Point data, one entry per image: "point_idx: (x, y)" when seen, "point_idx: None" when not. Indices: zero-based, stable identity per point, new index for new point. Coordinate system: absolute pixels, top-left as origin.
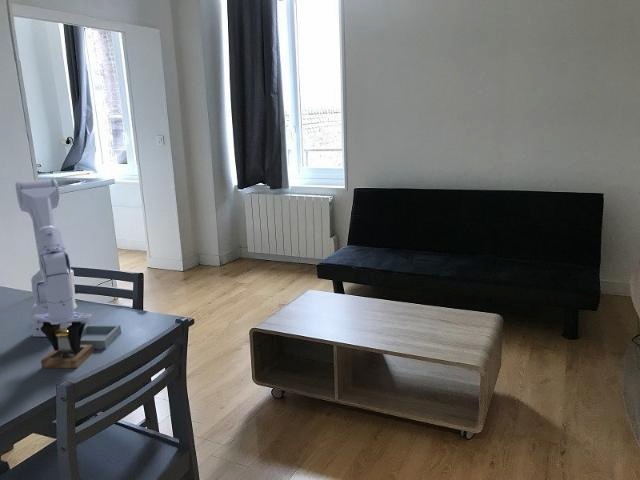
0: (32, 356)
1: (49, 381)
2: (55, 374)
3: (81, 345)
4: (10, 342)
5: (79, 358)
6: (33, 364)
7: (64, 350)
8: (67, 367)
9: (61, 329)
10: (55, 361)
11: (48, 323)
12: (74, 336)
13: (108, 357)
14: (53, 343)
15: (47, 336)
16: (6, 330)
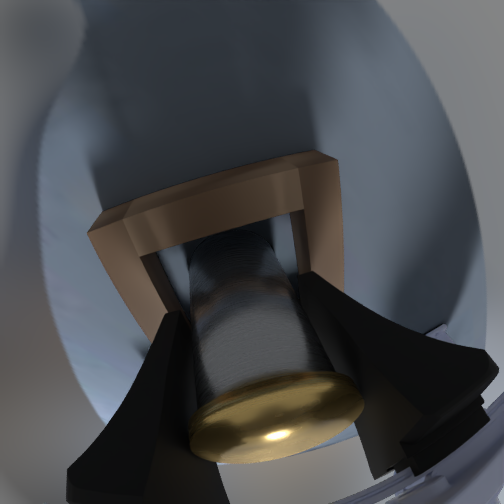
0: (413, 236)
1: (138, 32)
2: (166, 104)
3: None
4: (478, 279)
5: (107, 268)
6: (378, 174)
7: (221, 285)
8: (154, 192)
9: (326, 431)
10: (232, 182)
11: (446, 446)
12: (122, 414)
13: (77, 334)
14: (331, 303)
15: (403, 331)
16: (485, 310)
